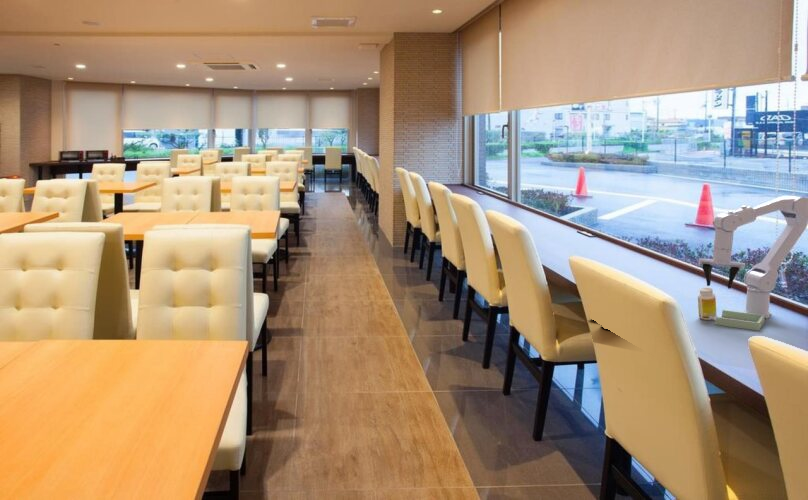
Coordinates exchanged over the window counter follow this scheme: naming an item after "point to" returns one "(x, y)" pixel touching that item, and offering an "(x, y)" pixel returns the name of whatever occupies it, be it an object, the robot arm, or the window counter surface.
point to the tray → (740, 323)
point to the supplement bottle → (707, 304)
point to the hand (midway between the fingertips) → (718, 286)
